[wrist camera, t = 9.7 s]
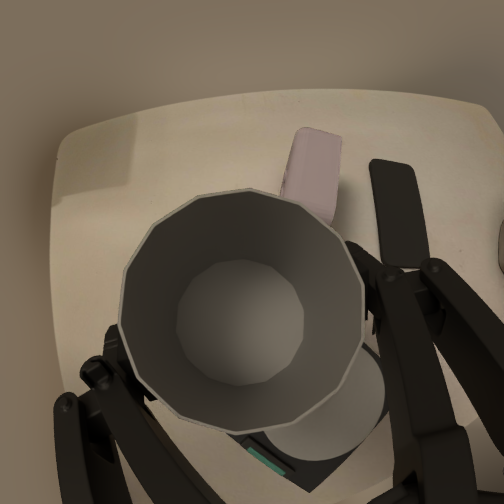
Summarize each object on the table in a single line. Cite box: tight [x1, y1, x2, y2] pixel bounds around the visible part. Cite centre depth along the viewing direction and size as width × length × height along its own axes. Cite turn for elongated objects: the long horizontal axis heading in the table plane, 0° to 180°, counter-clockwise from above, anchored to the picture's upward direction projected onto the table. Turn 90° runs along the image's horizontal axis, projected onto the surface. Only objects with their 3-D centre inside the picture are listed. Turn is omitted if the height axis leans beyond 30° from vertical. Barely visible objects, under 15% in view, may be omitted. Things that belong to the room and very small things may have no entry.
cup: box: [117, 188, 365, 435], centre depth 14 cm, size 8×8×10 cm
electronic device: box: [280, 127, 342, 226], centre depth 30 cm, size 10×5×10 cm, turn 167°
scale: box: [226, 342, 389, 493], centre depth 27 cm, size 16×14×4 cm
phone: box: [369, 159, 430, 268], centre depth 35 cm, size 7×1×15 cm
